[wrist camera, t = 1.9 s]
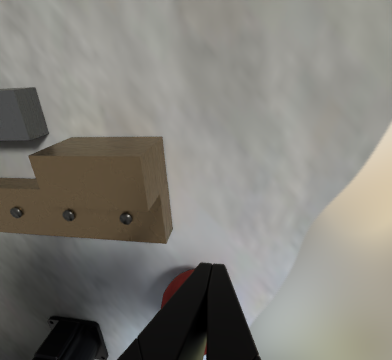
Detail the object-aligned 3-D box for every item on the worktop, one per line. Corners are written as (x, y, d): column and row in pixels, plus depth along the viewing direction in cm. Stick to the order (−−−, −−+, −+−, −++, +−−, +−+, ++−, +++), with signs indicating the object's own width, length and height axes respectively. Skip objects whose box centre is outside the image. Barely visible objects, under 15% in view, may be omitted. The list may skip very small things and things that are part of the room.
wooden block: (172, 229, 22) (156, 265, 18) (15, 219, 25) (-29, 249, 21) (162, 136, 19) (140, 156, 15) (-19, 138, 22) (-78, 155, 18)
